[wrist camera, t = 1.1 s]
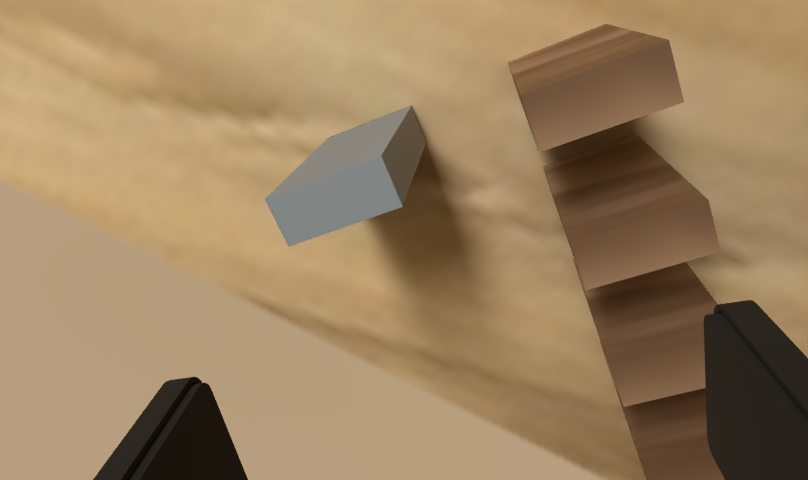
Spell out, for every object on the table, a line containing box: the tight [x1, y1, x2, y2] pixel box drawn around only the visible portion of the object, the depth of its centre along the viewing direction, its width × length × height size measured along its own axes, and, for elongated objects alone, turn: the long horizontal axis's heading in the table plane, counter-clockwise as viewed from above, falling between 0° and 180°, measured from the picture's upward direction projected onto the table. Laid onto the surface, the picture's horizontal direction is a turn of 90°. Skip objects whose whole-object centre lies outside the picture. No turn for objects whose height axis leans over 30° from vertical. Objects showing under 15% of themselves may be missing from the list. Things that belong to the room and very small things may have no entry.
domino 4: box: [600, 341, 725, 480], centre depth 35 cm, size 2×6×12 cm, turn 112°
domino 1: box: [508, 24, 684, 152], centre depth 28 cm, size 2×6×12 cm, turn 112°
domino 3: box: [573, 258, 718, 407], centre depth 33 cm, size 2×6×12 cm, turn 112°
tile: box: [265, 105, 426, 246], centre depth 31 cm, size 2×6×12 cm, turn 112°
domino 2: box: [543, 134, 721, 290], centre depth 30 cm, size 2×6×12 cm, turn 112°
